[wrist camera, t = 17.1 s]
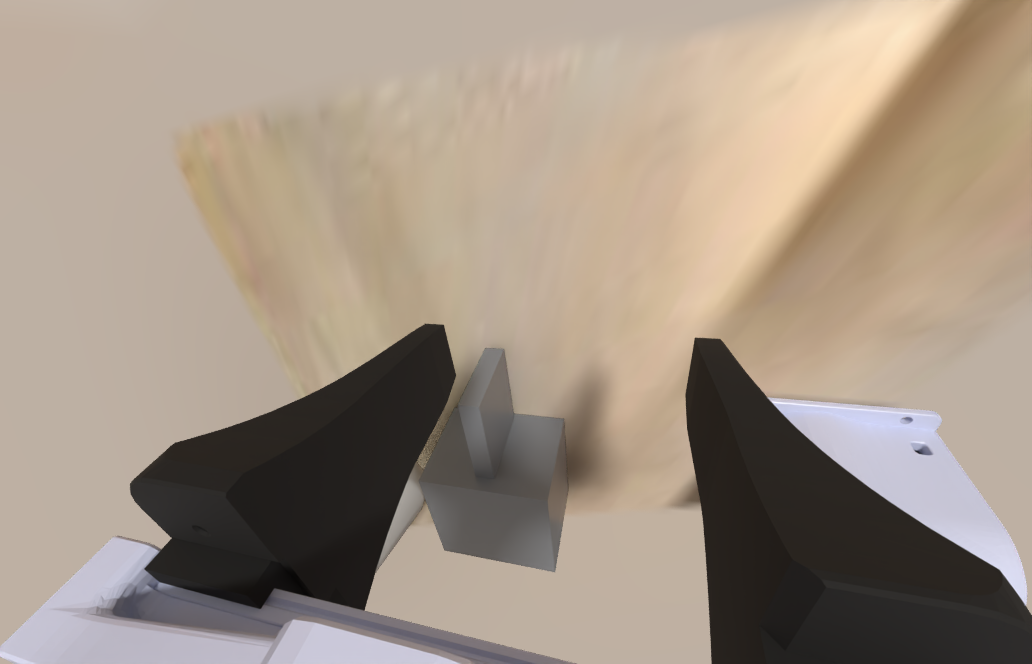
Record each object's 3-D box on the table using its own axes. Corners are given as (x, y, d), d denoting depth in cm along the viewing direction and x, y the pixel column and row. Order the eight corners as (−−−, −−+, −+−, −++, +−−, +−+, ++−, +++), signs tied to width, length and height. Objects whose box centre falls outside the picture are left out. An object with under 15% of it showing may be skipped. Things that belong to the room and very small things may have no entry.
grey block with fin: (568, 490, 33) (555, 572, 28) (472, 476, 35) (444, 550, 30) (560, 348, 25) (539, 427, 20) (437, 340, 27) (391, 410, 22)
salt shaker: (443, 491, 38) (369, 664, 28) (389, 487, 40) (300, 648, 29) (420, 446, 35) (326, 623, 24) (362, 444, 37) (253, 608, 26)
